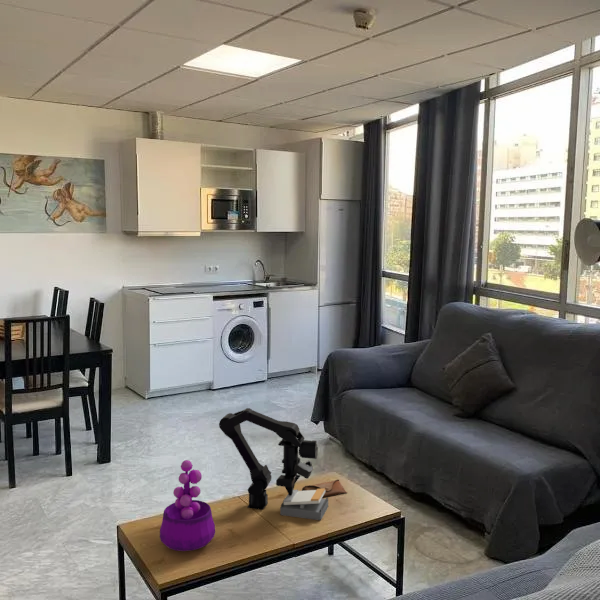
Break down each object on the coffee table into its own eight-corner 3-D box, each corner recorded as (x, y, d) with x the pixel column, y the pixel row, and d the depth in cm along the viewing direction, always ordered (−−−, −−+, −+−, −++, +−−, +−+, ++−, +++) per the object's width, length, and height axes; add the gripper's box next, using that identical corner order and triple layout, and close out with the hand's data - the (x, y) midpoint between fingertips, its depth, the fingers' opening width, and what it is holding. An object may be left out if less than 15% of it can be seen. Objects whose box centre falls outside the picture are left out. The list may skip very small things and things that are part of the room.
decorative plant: (191, 526, 222) (189, 447, 219) (226, 542, 210) (225, 459, 207) (148, 546, 208) (146, 461, 204) (184, 564, 196) (182, 475, 193)
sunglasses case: (311, 501, 243) (307, 484, 245) (304, 504, 248) (300, 487, 251) (349, 492, 251) (345, 476, 254) (341, 495, 257) (337, 479, 259)
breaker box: (280, 514, 231) (280, 503, 231) (289, 501, 243) (289, 490, 242) (321, 520, 227) (321, 508, 226) (328, 506, 238) (328, 495, 238)
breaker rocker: (283, 504, 231) (283, 500, 231) (291, 493, 241) (291, 489, 241) (318, 503, 227) (318, 499, 227) (325, 492, 237) (324, 488, 237)
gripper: (304, 467, 223) (304, 508, 225) (316, 450, 241) (316, 488, 242) (275, 464, 226) (275, 504, 228) (290, 447, 244) (289, 484, 245)
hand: (290, 495), depth 236 cm, fingers closed, pressing on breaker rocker
